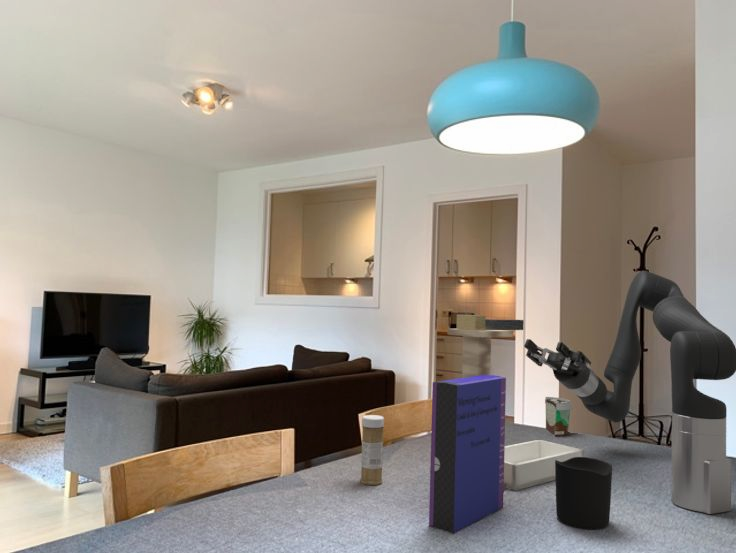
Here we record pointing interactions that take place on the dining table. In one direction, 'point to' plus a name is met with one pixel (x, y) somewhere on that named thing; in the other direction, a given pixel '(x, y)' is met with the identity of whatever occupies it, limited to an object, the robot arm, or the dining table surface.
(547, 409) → the food container
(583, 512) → the pen holder
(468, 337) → the bracket
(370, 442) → the sprinkles bottle
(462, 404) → the purple book
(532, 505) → the dining table surface
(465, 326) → the pin
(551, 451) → the tray
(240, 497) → the dining table surface
